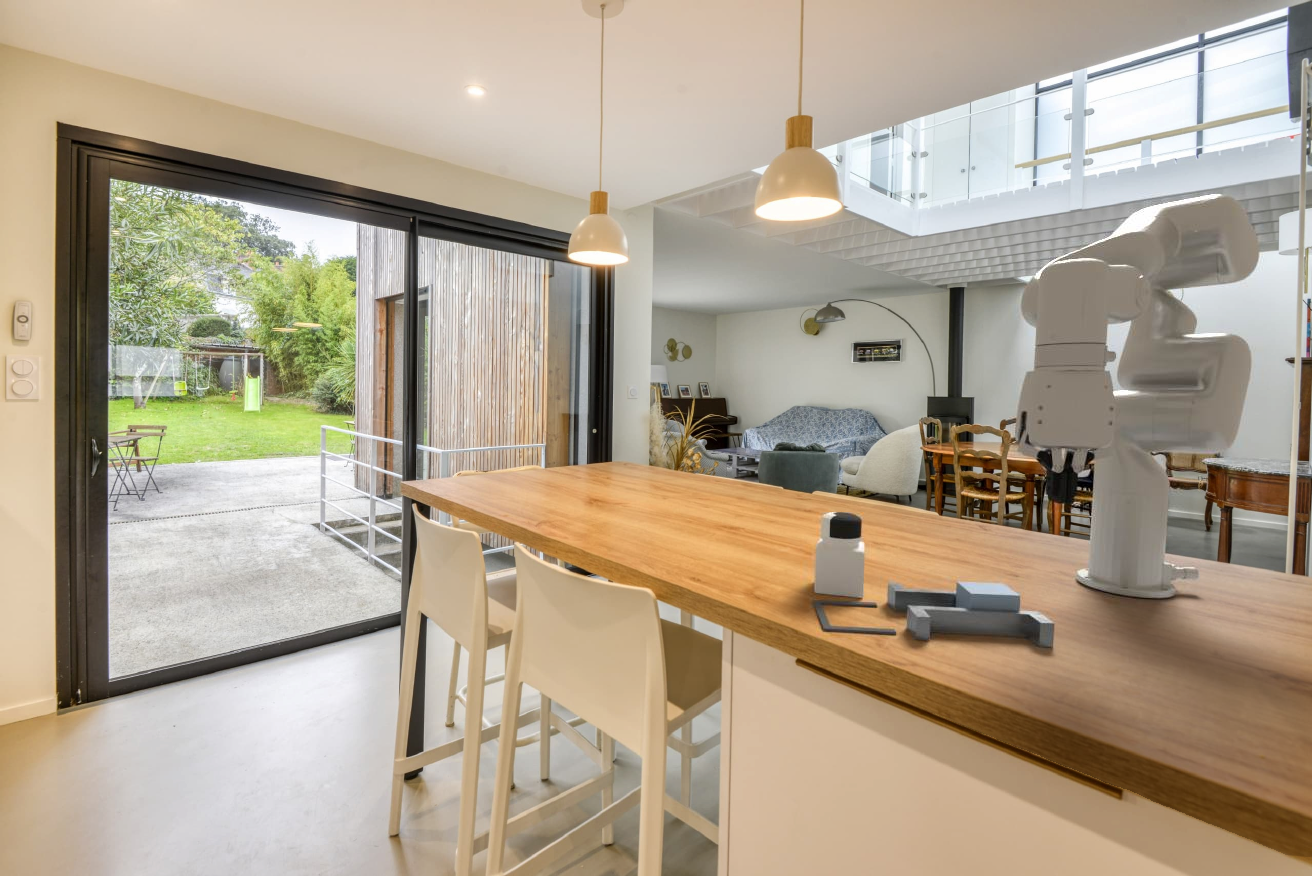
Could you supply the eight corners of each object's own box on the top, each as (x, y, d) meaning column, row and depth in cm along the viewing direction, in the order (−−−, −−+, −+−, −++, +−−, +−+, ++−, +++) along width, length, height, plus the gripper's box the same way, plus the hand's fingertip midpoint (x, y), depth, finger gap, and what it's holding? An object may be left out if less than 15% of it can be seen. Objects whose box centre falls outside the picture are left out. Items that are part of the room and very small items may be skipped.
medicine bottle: (863, 584, 96) (865, 511, 96) (863, 599, 90) (865, 520, 89) (817, 580, 99) (819, 508, 98) (814, 593, 92) (816, 516, 91)
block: (1001, 618, 82) (1002, 583, 82) (1018, 633, 77) (1020, 595, 77) (955, 616, 83) (956, 581, 83) (969, 630, 78) (971, 593, 78)
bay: (875, 604, 87) (875, 602, 87) (896, 634, 76) (896, 632, 76) (812, 601, 88) (812, 599, 88) (823, 630, 78) (824, 628, 78)
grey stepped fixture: (1002, 607, 86) (1003, 587, 86) (1053, 647, 73) (1054, 623, 73) (887, 601, 88) (887, 582, 88) (915, 639, 75) (916, 616, 75)
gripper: (1113, 362, 79) (1104, 499, 81) (994, 361, 81) (987, 495, 83) (1153, 358, 72) (1142, 509, 73) (1020, 358, 74) (1012, 505, 75)
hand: (1060, 501), depth 78 cm, fingers closed
